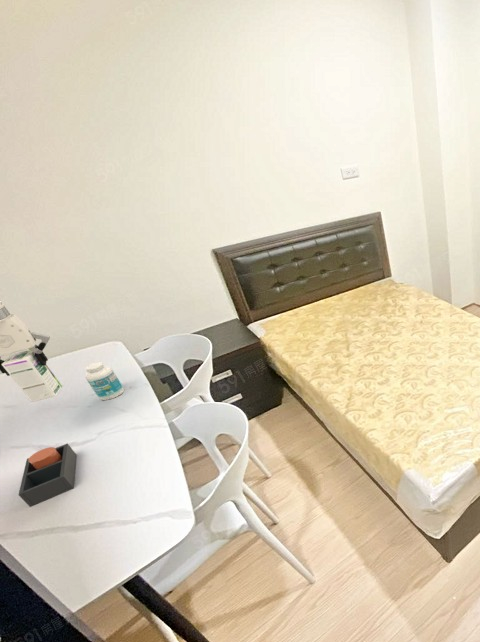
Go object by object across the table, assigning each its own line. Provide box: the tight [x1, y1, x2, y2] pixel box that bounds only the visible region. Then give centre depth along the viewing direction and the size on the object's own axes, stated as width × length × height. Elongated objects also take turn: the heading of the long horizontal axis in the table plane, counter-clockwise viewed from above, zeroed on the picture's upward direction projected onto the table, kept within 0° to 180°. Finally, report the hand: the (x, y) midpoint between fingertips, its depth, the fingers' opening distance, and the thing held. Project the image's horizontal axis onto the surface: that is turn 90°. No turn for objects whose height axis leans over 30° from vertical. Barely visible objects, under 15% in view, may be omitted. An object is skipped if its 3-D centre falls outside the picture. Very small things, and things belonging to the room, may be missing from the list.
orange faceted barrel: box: [27, 446, 62, 470], centre depth 116 cm, size 6×6×7 cm
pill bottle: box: [84, 361, 125, 401], centre depth 147 cm, size 8×7×14 cm
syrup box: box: [1, 349, 63, 403], centre depth 120 cm, size 6×6×14 cm
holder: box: [18, 443, 78, 508], centre depth 114 cm, size 9×17×6 cm, turn 41°
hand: (27, 368), depth 119 cm, fingers closed on syrup box, 6 cm apart
